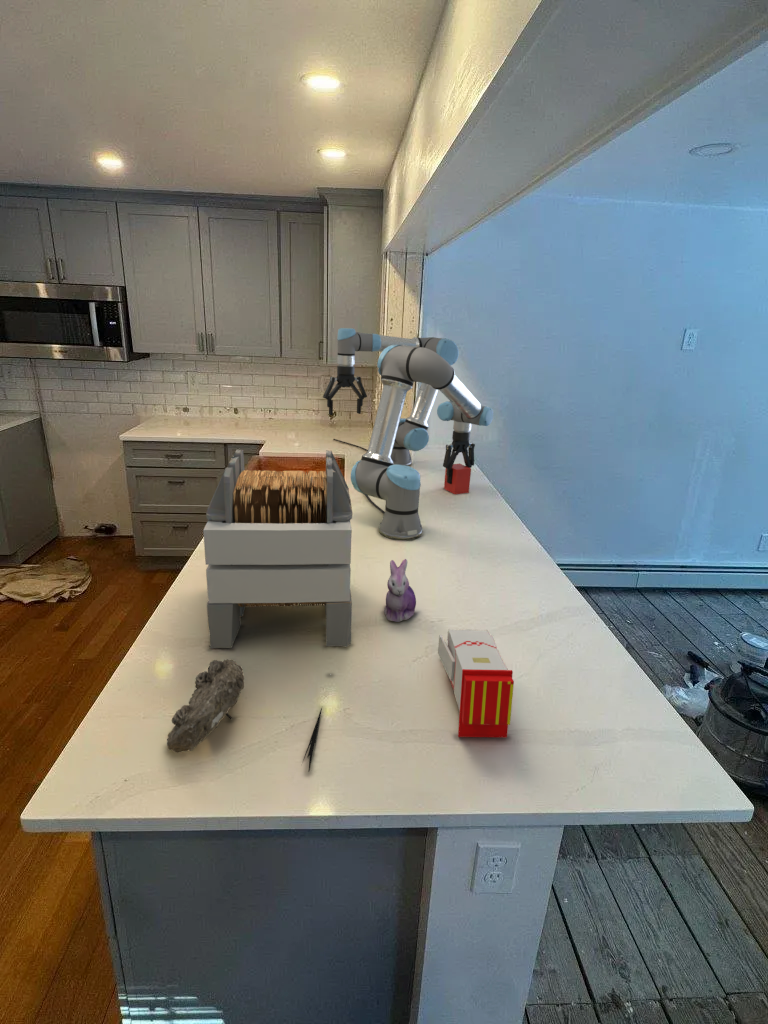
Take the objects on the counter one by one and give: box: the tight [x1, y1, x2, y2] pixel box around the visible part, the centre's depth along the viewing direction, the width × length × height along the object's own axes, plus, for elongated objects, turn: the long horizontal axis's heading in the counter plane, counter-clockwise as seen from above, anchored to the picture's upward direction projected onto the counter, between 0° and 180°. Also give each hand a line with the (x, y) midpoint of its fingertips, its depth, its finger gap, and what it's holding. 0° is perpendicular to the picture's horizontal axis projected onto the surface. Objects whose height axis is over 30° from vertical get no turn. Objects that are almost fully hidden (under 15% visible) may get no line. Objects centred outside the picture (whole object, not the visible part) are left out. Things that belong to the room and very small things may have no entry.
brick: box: [443, 463, 472, 495], centre depth 249 cm, size 9×7×11 cm
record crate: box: [202, 448, 353, 650], centre depth 139 cm, size 34×33×41 cm
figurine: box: [384, 558, 417, 623], centre depth 145 cm, size 9×10×15 cm
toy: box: [437, 628, 515, 738], centre depth 117 cm, size 12×13×30 cm
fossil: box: [166, 658, 245, 754], centre depth 106 cm, size 22×10×15 cm
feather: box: [301, 673, 332, 771], centre depth 108 cm, size 2×28×2 cm
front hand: (457, 482), depth 249 cm, fingers closed on brick, 7 cm apart
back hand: (344, 414), depth 254 cm, fingers open, 13 cm apart
